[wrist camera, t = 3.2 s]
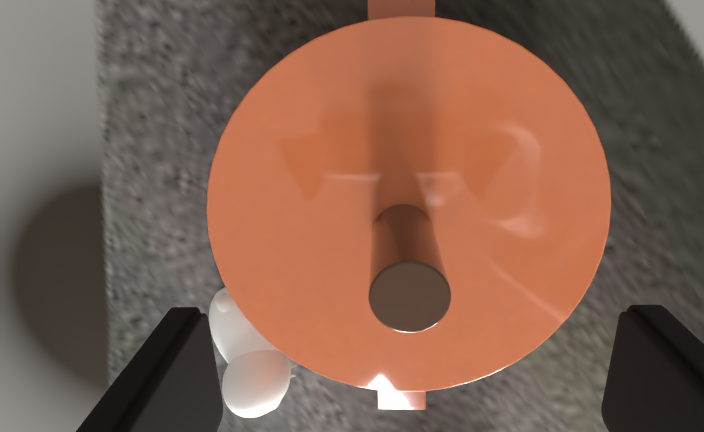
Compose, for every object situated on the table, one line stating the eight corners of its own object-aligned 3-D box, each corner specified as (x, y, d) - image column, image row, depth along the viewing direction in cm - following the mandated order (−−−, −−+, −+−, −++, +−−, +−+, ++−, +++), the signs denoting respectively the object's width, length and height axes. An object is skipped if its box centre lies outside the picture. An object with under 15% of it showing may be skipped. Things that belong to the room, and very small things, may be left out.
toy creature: (255, 376, 32) (227, 450, 27) (202, 280, 30) (158, 339, 24) (315, 358, 32) (300, 431, 26) (265, 258, 29) (236, 313, 23)
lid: (629, 7, 16) (769, -13, 10) (571, 376, 21) (641, 501, 16) (188, 26, 17) (88, 18, 11) (240, 373, 23) (190, 488, 17)
